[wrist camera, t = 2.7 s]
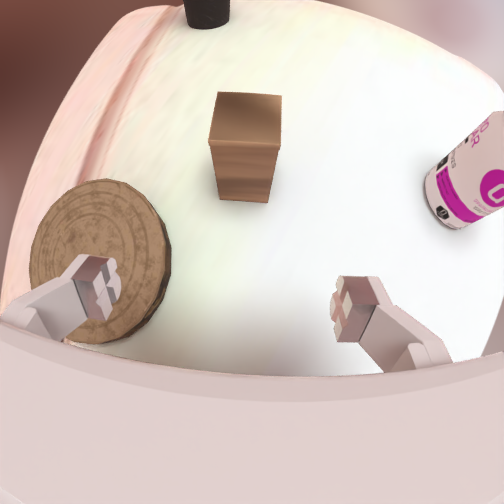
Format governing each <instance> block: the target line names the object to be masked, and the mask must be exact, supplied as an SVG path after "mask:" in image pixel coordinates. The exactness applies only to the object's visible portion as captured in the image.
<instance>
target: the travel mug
mask: <svg viewBox="0 0 504 504" xmlns="http://www.w3.org/2000/svg"><path fill="white" fill-rule="evenodd" d="M183 2H184V7H185V12H186V17H187V22H188V25H189V26H190V27H192V28H195V29H212V28H216V27H220V26H222V25H224V24H226V23H227V22H228V21H229V15H230V0H183Z"/></svg>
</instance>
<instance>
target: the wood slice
mask: <svg viewBox="0 0 504 504" xmlns="http://www.w3.org/2000/svg"><path fill="white" fill-rule="evenodd" d="M80 254H88V255H97V256H105V257H113V258H114V259H115V260H116V264H117V269H116V271H115V272H116V273H117V274H118V276H119V277H120V280H121V292H120V296H119V298H118V300H117V301H116V302H114V303H113V304H111V305H112V308H113V309H112V311H111V313H110V315H109V317H108V319H107V320H106V321H103V320H97V319H91V318H88V319H87V320H86V321H85V322H83V323H82V324H81V325H80V326H78V327H77V328H76V329H75V330H73V331H72V332H71V333H70V334H68V335H67V336H66V338H68V339H70V340H71V341H73V342H79V343H87V344H101V343H108V342H111V341H115V340H118V339H122V338H125V337H128V336H130V335H132V334H133V333H134V332H135V331H137V330H138V329H139V328H141V327H142V326H143V325H145V324H146V323H147V322H148V321H149V320H150V318H151V317H152V315H153V314H154V312H155V311H156V310H157V308H158V307H159V305H160V304H161V302H162V301H163V298H164V295H165V292H166V288H167V285H168V282H169V279H170V276H171V245H170V241H169V238H168V234H167V231H166V227H165V224H164V222H163V221H162V220H161V218H160V217H159V215H158V214H157V212H156V211H155V209H154V208H153V206H152V205H151V204H150V202H149V201H148V200H147V199H146V197H145V196H144V195H143V194H142V193H140V192H139V191H137V190H136V189H134V188H133V187H132V186H130V185H129V184H127V183H125V182H120V181H116V180H111V179H107V178H106V179H99V180H92V181H86V182H84V183H82V184H80V185H78V186H76V187H74V188H72V189H70V190H68V191H67V192H66V193H65V194H64V195H62V196H61V197H60V198H59V199H58V200H57V201H56V202H55V203H54V204H53V205H52V206H51V207H50V209H49V210H48V212H47V213H46V215H45V216H44V218H43V219H42V221H41V223H40V224H39V226H38V229H37V232H36V235H35V238H34V240H33V243H32V246H31V254H30V263H29V275H30V283H31V290H33V289H35V288H37V287H39V286H40V285H42V284H44V283H46V282H48V281H50V280H52V279H54V278H56V277H60V276H61V275H62V274H63V273H64V272H65V270H66V269H67V268H68V267H69V266H70V264H71V263H72V262H73V261H74V260H75V258H76V257H77V256H78V255H80Z"/></svg>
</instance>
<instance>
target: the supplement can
mask: <svg viewBox="0 0 504 504" xmlns="http://www.w3.org/2000/svg"><path fill="white" fill-rule="evenodd" d="M425 188H426V196H427V199H428V202H429V205H430V207H431V208H432V210H433V212H434V214H435V215H436V216H437V217H438V218H439V219H440V220H441V221H442V222H443V223H444V224H446V225H447V226H449V227H451V228H455V229H461V228H463V227H465V226H467V225H469V224H471V223H473V222H475V221H477V220H479V219H481V218H483V217H485V216H487V215H489V214H491V213H493V212H495V211H497V210H499V209H501V208H502V207H504V111H497V112H493V113H492V114H491V115H490V116H489V117H488V118H487V119H486V120H485V121H484V122H482V123H481V124H480V125H479V126H478V127H477V128H476V129H475V130H474V131H473V132H472V133H471V134H470V135H469V136H468V137H467V138H466V139H464V140H463V141H462V142H461V143H460V144H459V145H458V146H457V147H456V148H455V149H454V150H452V151H451V152H450V153H449V154H448V155H447V156H446V157H445V158H444V159H442V160H441V161H440V162H439V163H438V164H437V165H436V166H434V167H433V168H432V169H431V170H430V171H429V172H428V173H427V177H426V180H425Z"/></svg>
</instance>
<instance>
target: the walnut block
mask: <svg viewBox="0 0 504 504" xmlns="http://www.w3.org/2000/svg"><path fill="white" fill-rule="evenodd" d="M281 105H282V96H280V95H270V94H258V93H241V92H218V93H217V98H216V102H215V107H214V112H213V117H212V122H211V127H210V132H209V138H208V143H209V145H210V149H211V154H212V160H213V165H214V171H215V176H216V182H217V187H218V192H219V197H220V200H233V201H248V202H261V203H268V199H269V194H270V189H271V184H272V180H273V175H274V170H275V165H276V161H277V156H278V151H279V150H280V146H281Z"/></svg>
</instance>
